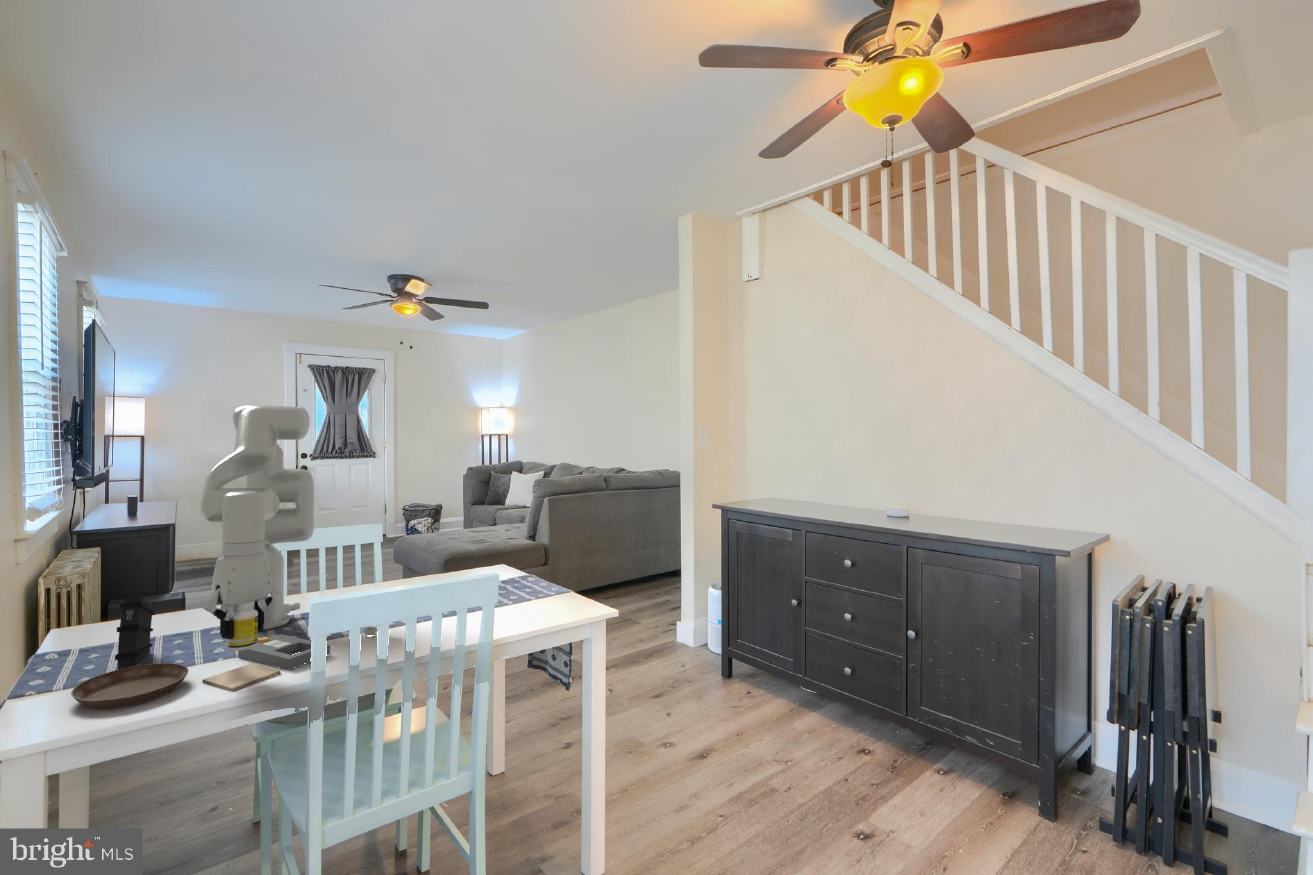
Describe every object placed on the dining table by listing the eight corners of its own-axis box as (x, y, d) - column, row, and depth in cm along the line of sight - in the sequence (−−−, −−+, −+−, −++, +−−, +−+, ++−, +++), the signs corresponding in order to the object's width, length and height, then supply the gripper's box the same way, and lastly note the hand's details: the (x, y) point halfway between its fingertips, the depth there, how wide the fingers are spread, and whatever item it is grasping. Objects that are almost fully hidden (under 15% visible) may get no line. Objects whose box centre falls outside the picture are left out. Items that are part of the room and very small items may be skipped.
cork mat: (251, 665, 135) (251, 663, 135) (280, 673, 131) (280, 670, 131) (202, 682, 126) (202, 679, 126) (232, 691, 122) (232, 688, 122)
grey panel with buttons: (279, 643, 149) (280, 631, 149) (330, 655, 142) (330, 642, 142) (238, 657, 140) (238, 644, 140) (289, 670, 133) (289, 656, 133)
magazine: (109, 669, 128) (120, 598, 134) (128, 675, 139) (138, 609, 144) (132, 666, 130) (142, 596, 135) (149, 672, 140) (158, 608, 146)
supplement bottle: (260, 647, 128) (260, 601, 128) (229, 653, 124) (229, 606, 124) (255, 641, 132) (255, 596, 132) (225, 646, 128) (225, 601, 128)
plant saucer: (188, 698, 119) (188, 683, 119) (63, 724, 108) (63, 707, 108) (188, 670, 133) (188, 656, 133) (78, 690, 122) (78, 675, 122)
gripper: (271, 541, 138) (270, 620, 138) (188, 554, 122) (187, 643, 122) (293, 544, 135) (292, 625, 134) (210, 557, 119) (209, 649, 119)
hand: (242, 633), depth 128 cm, fingers closed on supplement bottle, 5 cm apart
